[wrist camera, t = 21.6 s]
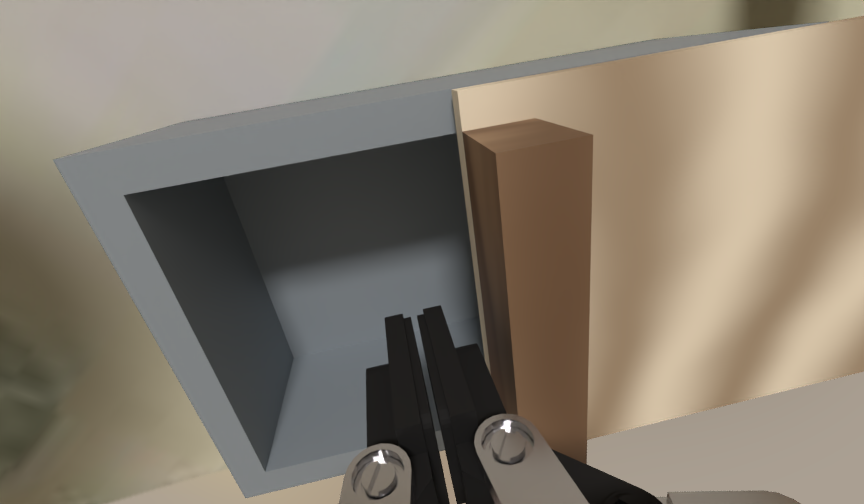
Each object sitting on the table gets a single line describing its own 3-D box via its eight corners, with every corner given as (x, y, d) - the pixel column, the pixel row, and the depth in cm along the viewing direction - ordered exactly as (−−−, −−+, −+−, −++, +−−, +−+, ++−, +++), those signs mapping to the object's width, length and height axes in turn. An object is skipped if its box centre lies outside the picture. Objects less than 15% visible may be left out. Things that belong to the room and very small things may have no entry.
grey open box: (282, 367, 24) (245, 498, 16) (181, 122, 17) (53, 159, 10) (634, 289, 25) (742, 377, 18) (653, 39, 19) (828, 21, 12)
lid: (495, 444, 17) (528, 539, 13) (450, 89, 11) (490, 99, 7) (958, 331, 18) (1095, 391, 15) (1148, -36, 12) (1451, -76, 9)
